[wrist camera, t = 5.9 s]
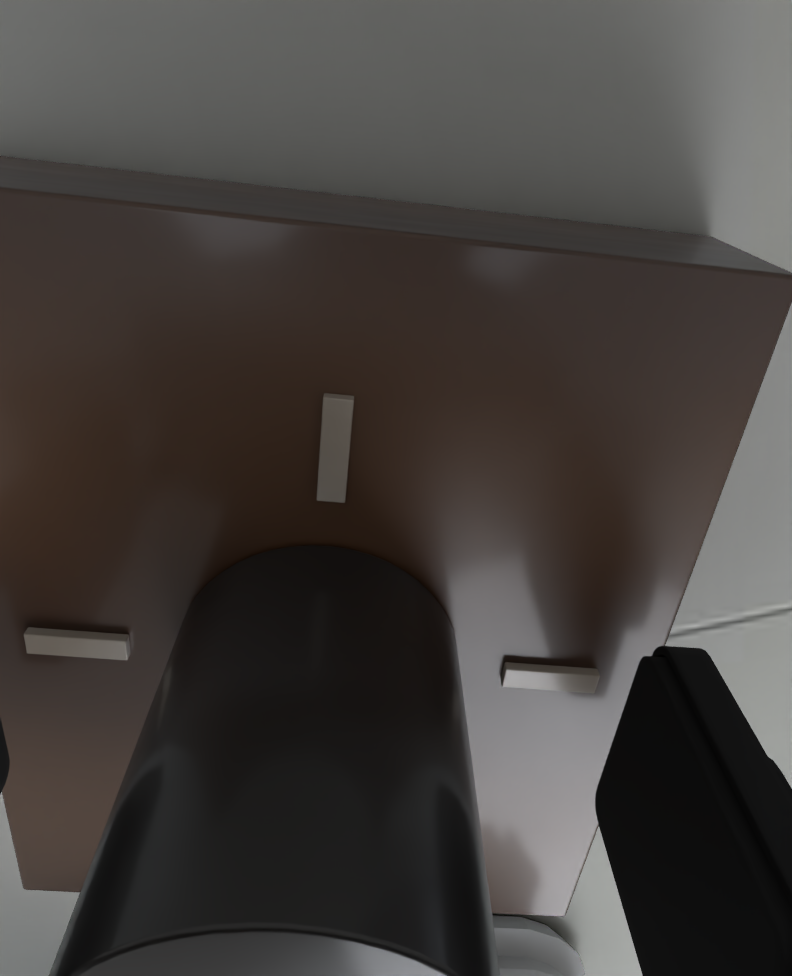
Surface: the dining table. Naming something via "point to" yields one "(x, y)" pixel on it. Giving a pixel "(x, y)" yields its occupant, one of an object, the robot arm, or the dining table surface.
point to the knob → (296, 790)
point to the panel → (354, 463)
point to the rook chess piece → (533, 949)
